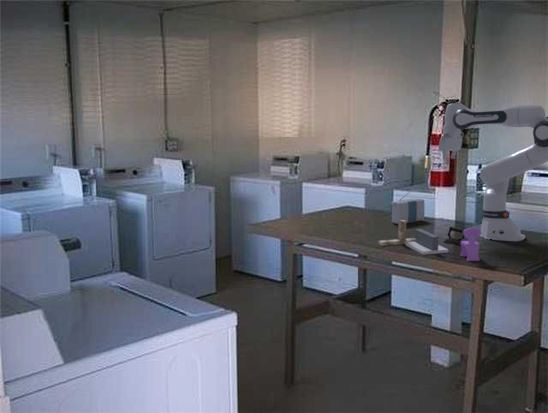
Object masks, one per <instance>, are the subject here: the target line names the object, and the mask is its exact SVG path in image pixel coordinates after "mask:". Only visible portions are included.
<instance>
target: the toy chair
mask: <svg viewBox="0 0 548 413" xmlns="http://www.w3.org/2000/svg"><path fill="white" fill-rule="evenodd" d="M463 230H464V231H463V233H462V236H463V235H464V236H465V237H464V238H466V239H467V240H463V241H461V245H460V247H461V254H460V257H461V256H462V257H466V260H465V262H470V261H471V262H473V261H474V262H475V261H476V262H477V261H481V259H480V257H479V250H480V246H481V245H480V243H479V242H477V238H479V237H481V236H480V235H481V228H478V227H476V226H475V227H472V226H471V227H467V228H466V229H463Z"/></svg>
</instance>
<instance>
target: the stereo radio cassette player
mask: <svg viewBox="0 0 548 413" xmlns="http://www.w3.org/2000/svg"><path fill="white" fill-rule="evenodd" d="M413 190H414V188H412V189H411V190H410V191H409V192H407V193H406V194H405V195H404V196H402V197H401V198H400V199H399V200H393V201H391V222H392V223H393V224H396V225H398V220H405V221H406V224H409V223H414V222H422V221H423V220H424V219H425V208H426V207H425V199H422V198H417V197H416V198H415V197H413V198H408V199H404V198H405V197H406V196H407V195H409V194H410V193H411V192H412V191H413Z"/></svg>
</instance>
